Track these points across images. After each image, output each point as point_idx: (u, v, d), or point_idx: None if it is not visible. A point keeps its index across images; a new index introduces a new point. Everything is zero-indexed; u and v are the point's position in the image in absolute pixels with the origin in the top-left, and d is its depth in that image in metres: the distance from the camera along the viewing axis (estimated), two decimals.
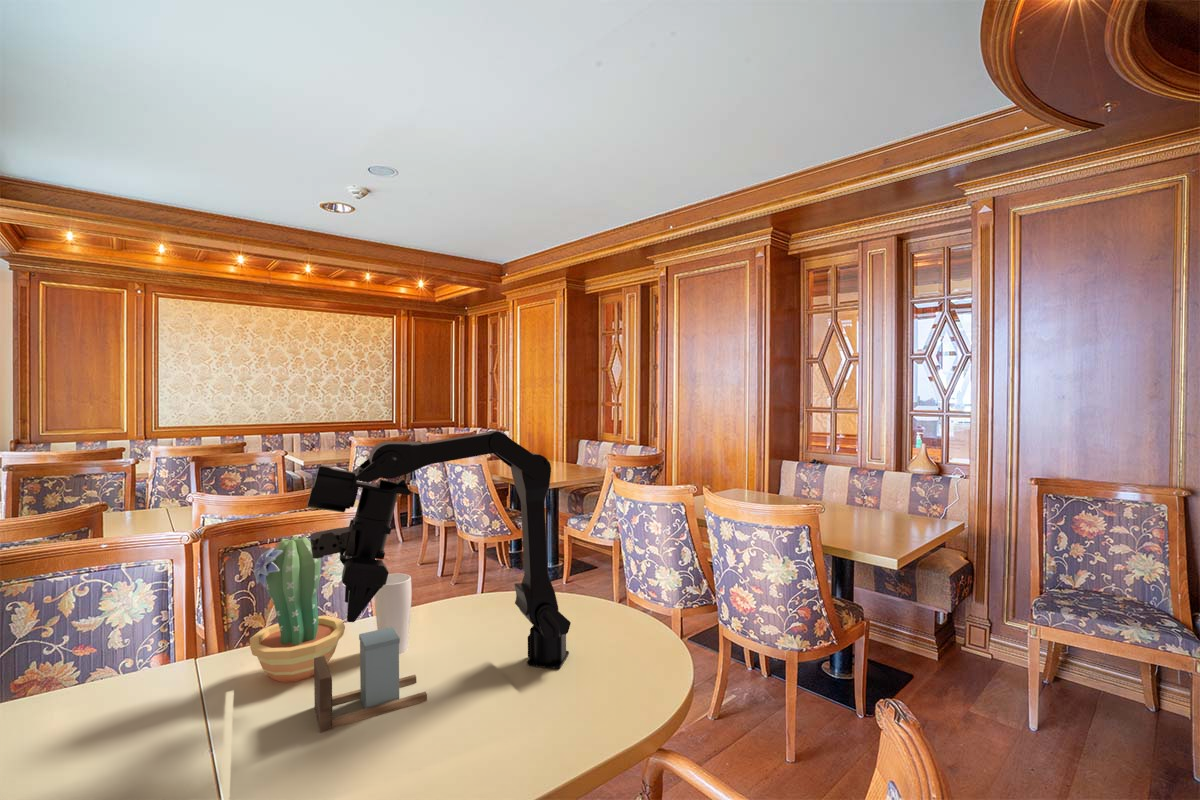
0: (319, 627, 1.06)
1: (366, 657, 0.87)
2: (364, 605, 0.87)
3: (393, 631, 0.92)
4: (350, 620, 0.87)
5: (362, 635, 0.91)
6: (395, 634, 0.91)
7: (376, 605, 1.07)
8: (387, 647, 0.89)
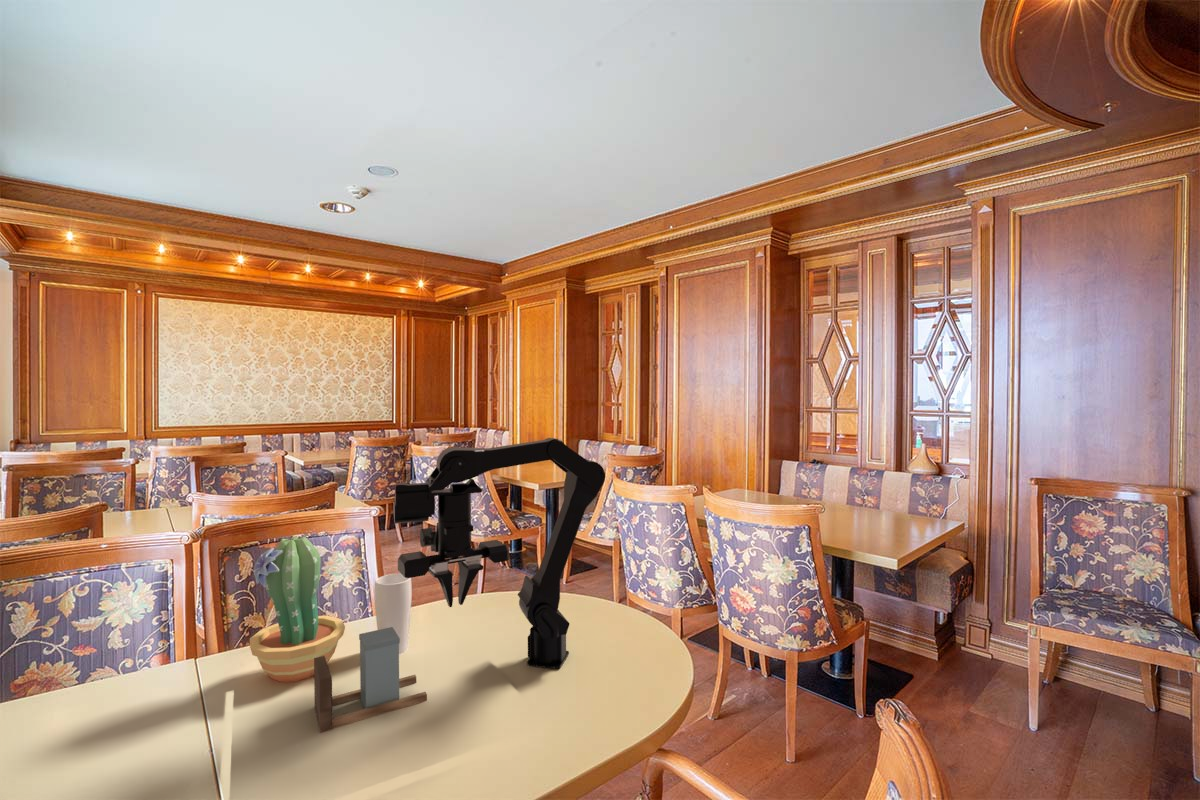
0: (319, 627, 1.06)
1: (366, 657, 0.87)
2: (446, 593, 0.98)
3: (393, 631, 0.92)
4: (448, 604, 1.00)
5: (362, 635, 0.91)
6: (395, 634, 0.91)
7: (376, 605, 1.07)
8: (387, 647, 0.89)
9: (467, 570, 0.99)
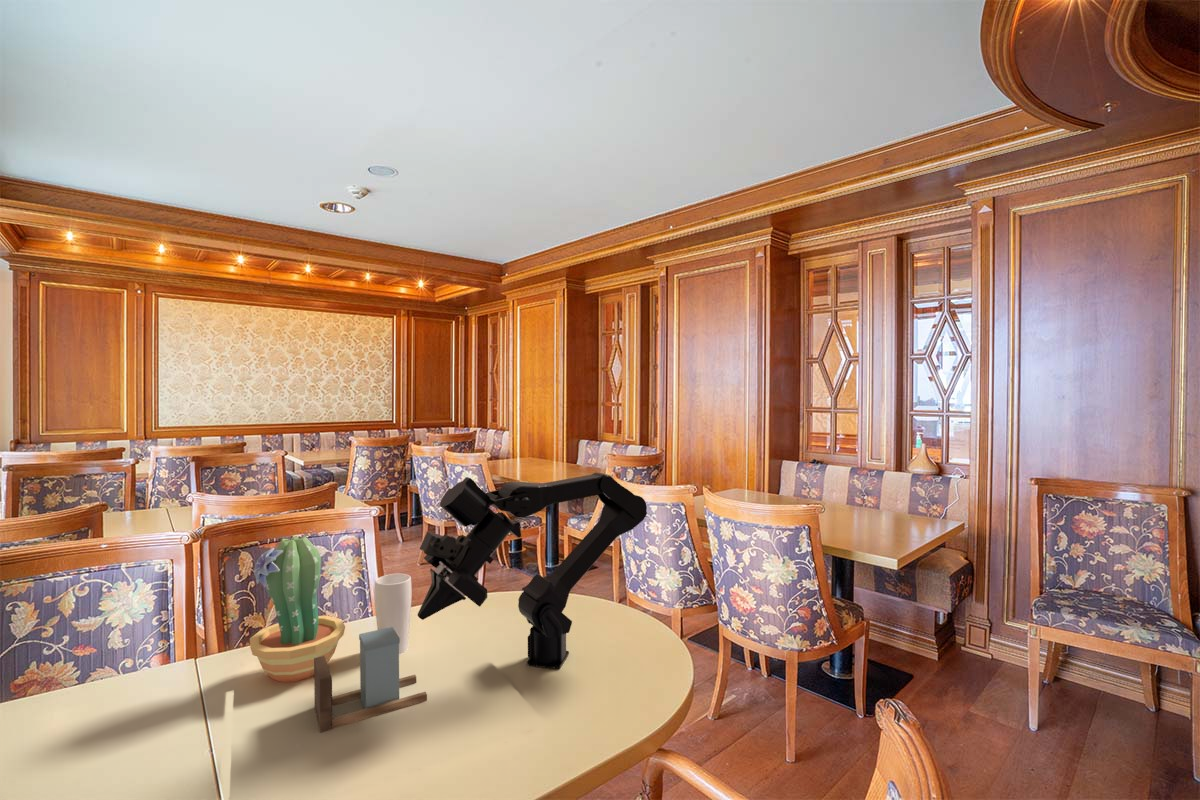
0: (319, 627, 1.06)
1: (366, 657, 0.87)
2: (439, 609, 0.94)
3: (393, 631, 0.92)
4: (421, 616, 0.94)
5: (362, 635, 0.91)
6: (395, 634, 0.91)
7: (376, 605, 1.07)
8: (387, 647, 0.89)
9: None
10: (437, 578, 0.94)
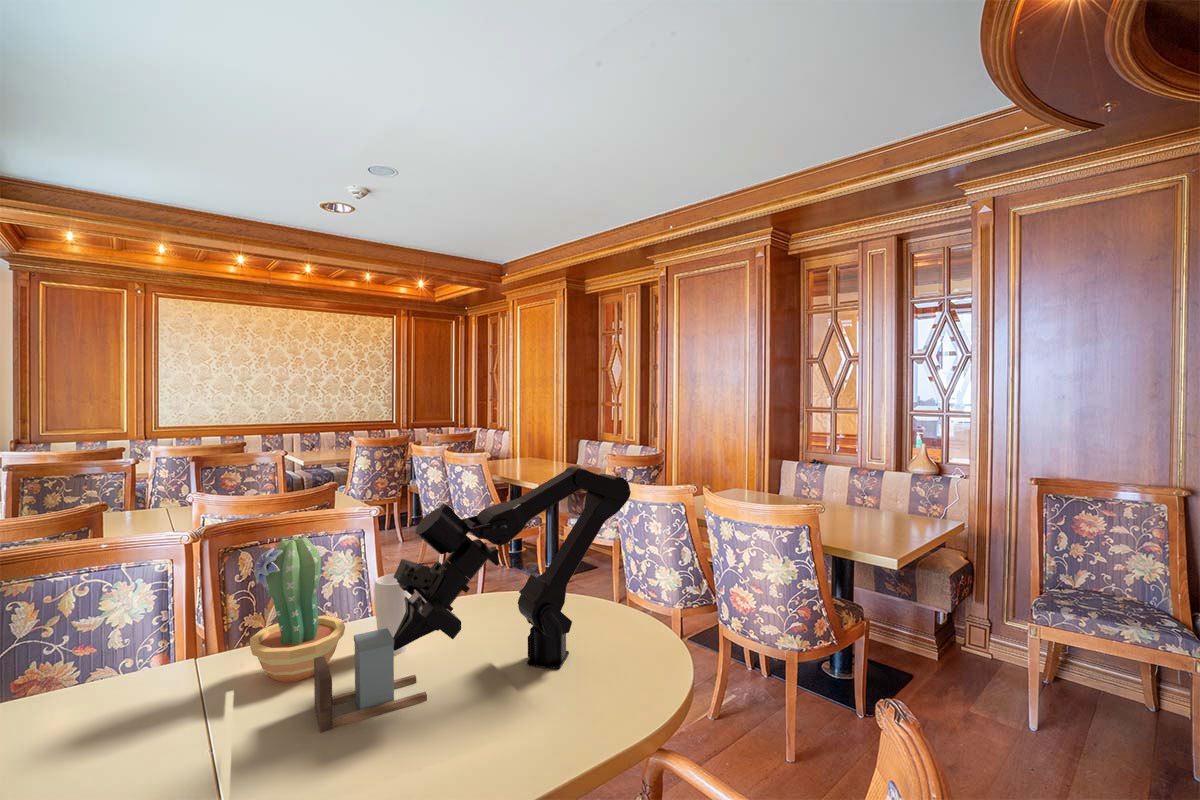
0: (319, 627, 1.06)
1: (360, 658, 0.87)
2: (412, 639, 0.92)
3: (388, 632, 0.92)
4: None
5: (356, 636, 0.90)
6: (390, 635, 0.91)
7: (376, 605, 1.07)
8: (381, 648, 0.88)
9: None
10: (410, 608, 0.92)
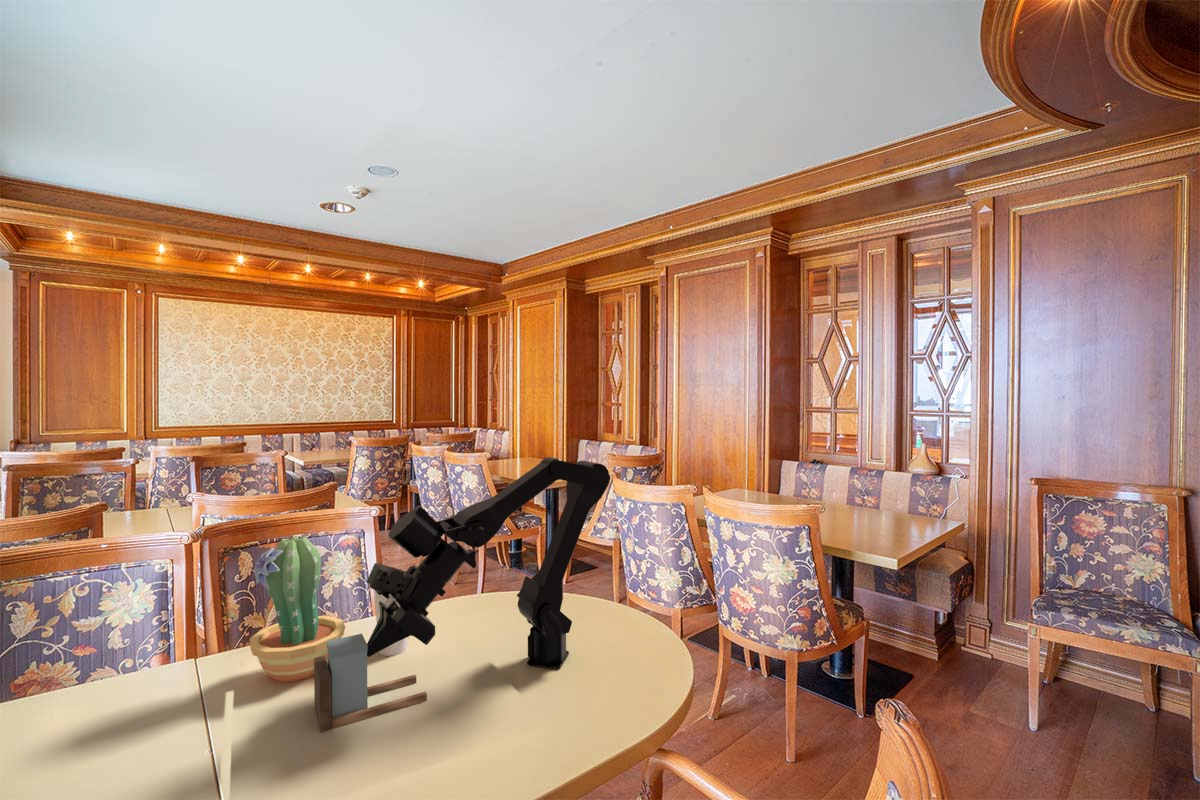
0: (319, 627, 1.06)
1: (332, 665, 0.85)
2: (387, 645, 0.90)
3: (362, 638, 0.90)
4: (367, 653, 0.89)
5: (329, 642, 0.88)
6: (364, 641, 0.89)
7: (376, 605, 1.07)
8: (354, 654, 0.86)
9: None
10: (384, 613, 0.90)
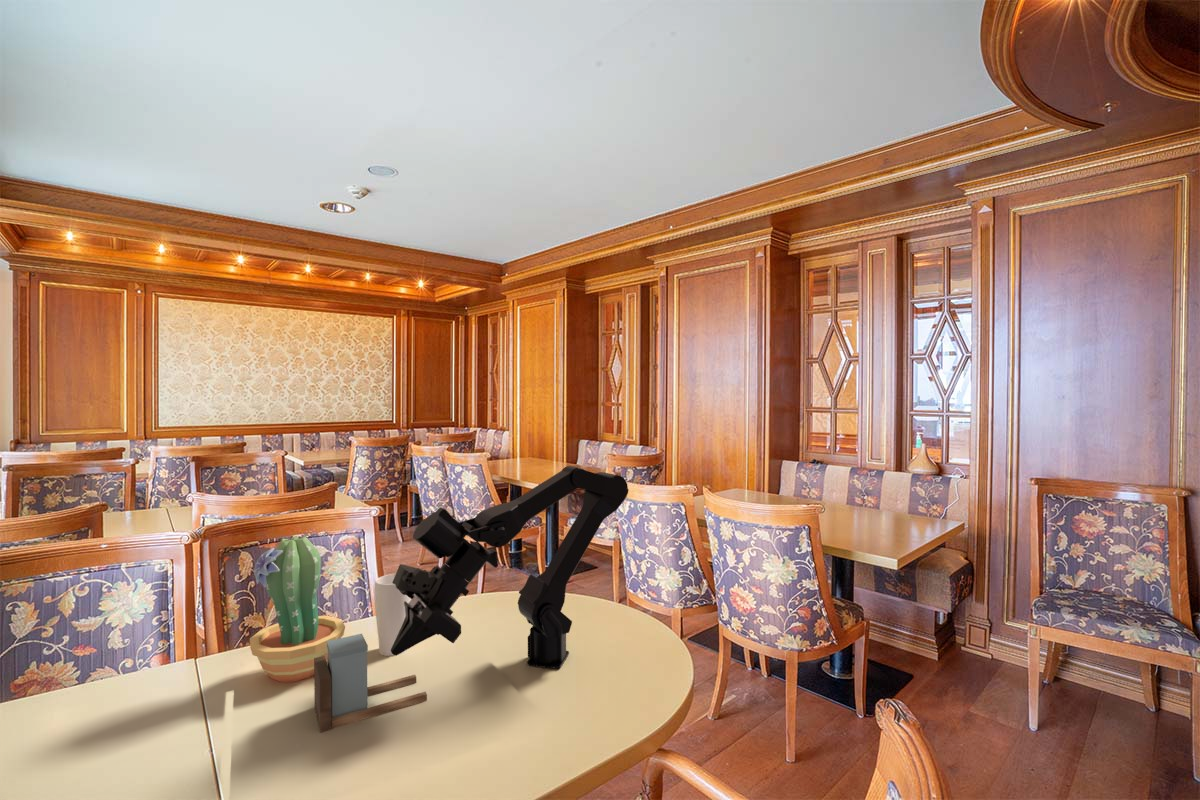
0: (319, 627, 1.06)
1: (332, 665, 0.85)
2: (413, 644, 0.92)
3: (362, 638, 0.90)
4: (394, 652, 0.91)
5: (329, 642, 0.88)
6: (364, 641, 0.89)
7: (376, 605, 1.07)
8: (354, 654, 0.86)
9: None
10: (410, 613, 0.92)
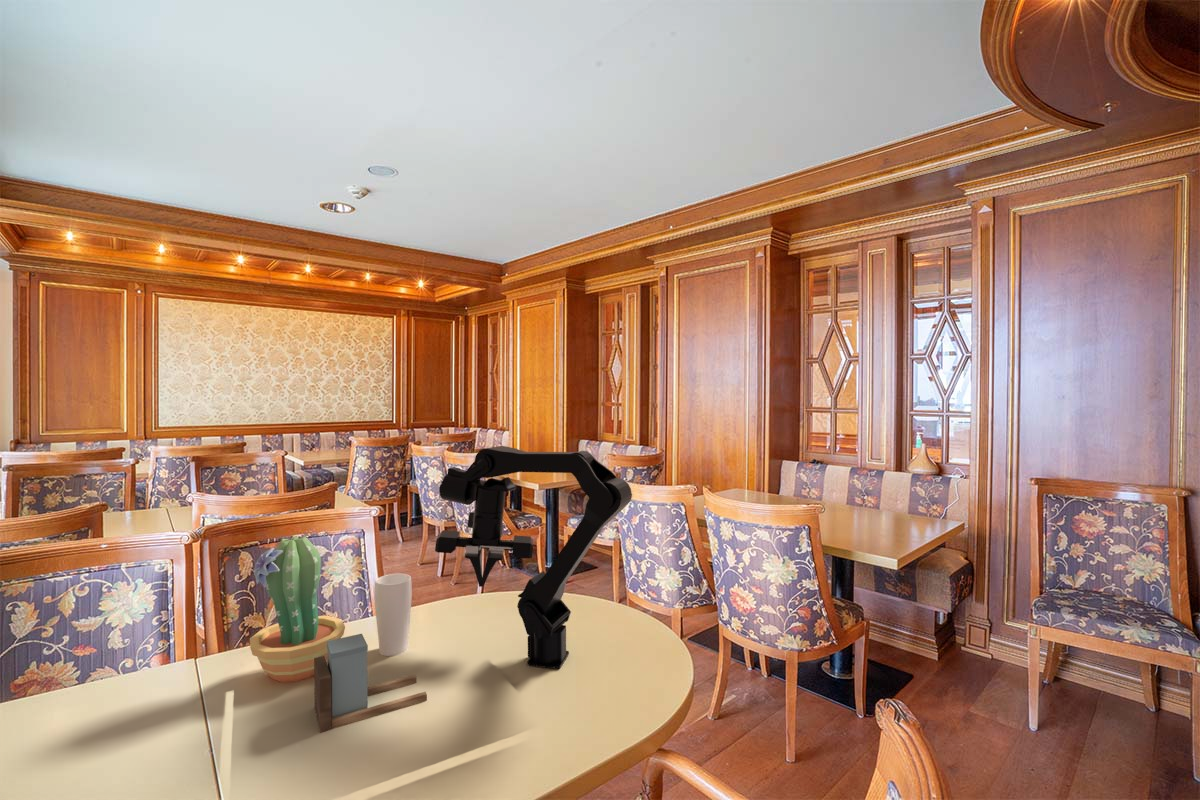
0: (319, 627, 1.06)
1: (332, 665, 0.85)
2: None
3: (362, 638, 0.90)
4: (479, 584, 1.12)
5: (329, 642, 0.88)
6: (364, 641, 0.89)
7: (376, 605, 1.07)
8: (354, 654, 0.86)
9: (487, 557, 1.09)
10: None
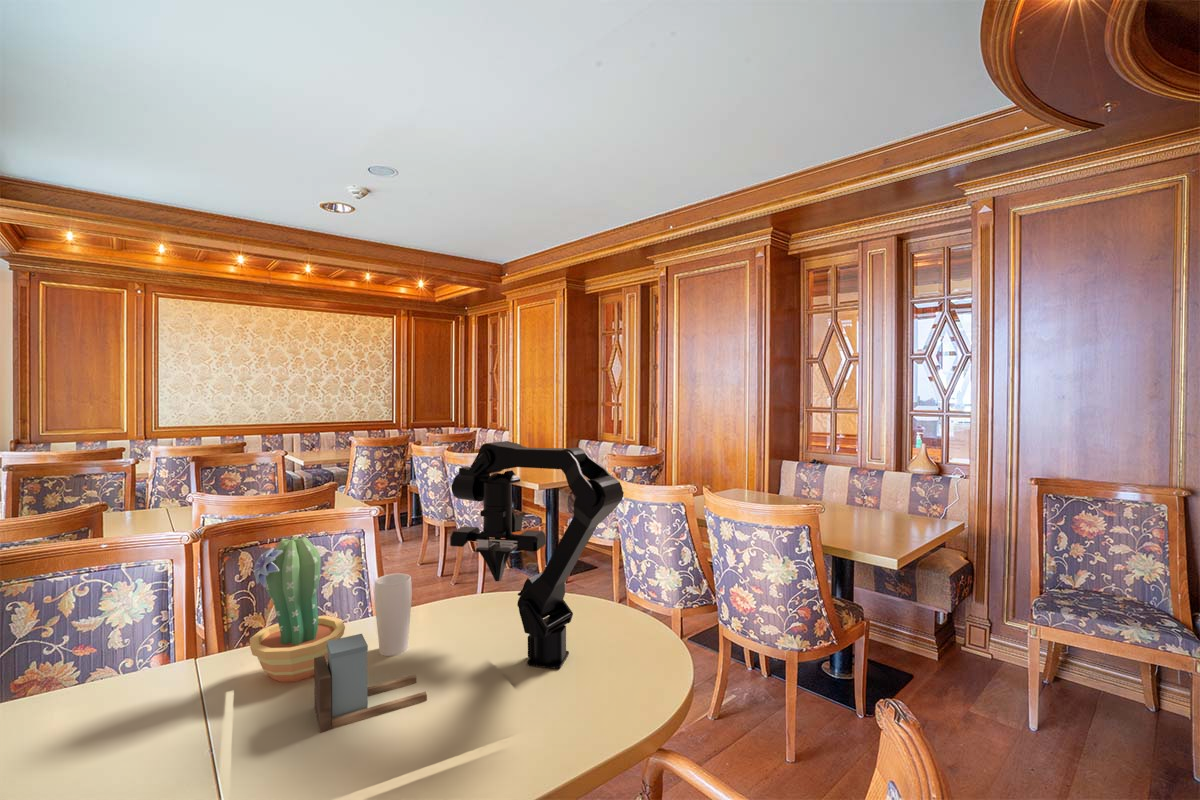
0: (319, 627, 1.06)
1: (332, 665, 0.85)
2: None
3: (362, 638, 0.90)
4: None
5: (329, 642, 0.88)
6: (364, 641, 0.89)
7: (376, 605, 1.07)
8: (354, 654, 0.86)
9: (496, 551, 1.11)
10: None
